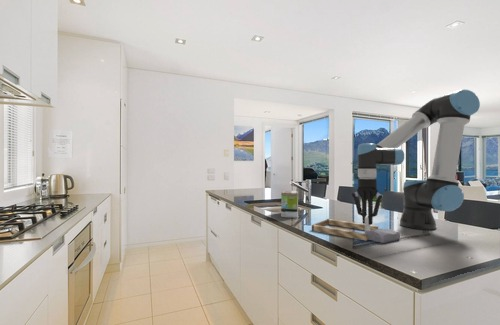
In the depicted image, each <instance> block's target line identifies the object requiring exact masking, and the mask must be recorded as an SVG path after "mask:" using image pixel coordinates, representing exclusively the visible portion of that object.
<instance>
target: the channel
mask: <svg viewBox="0 0 500 325" xmlns="http://www.w3.org/2000/svg"><path fill="white" fill-rule="evenodd" d="M328 225H329V226H337V227H341V228H347V229H348V228H349V229H355V230H360V231H365V224H363V223H360V222H350V221H346V220H345V221H344V220H338V219H332V218H327V219H324V220H322V221H319V222H316V223H314V224H311V231H313V232H319V233H324V234H329V235H334V236H340V237H343V238H344V237H345V238H351V239H356V240H359V241H360V240H361V241H368V239H367V234H366V233H365V232H359V231H353V230H349V229H348V230H347V229H341V228H334V227H329V226H328ZM375 229H379V226H378V225H374V224H372V225H370V230H375Z"/></svg>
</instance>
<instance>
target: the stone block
mask: <svg viewBox="0 0 500 325" xmlns="http://www.w3.org/2000/svg"><path fill="white" fill-rule="evenodd" d="M364 233H366V234H367V240H368V241H373V242H375V243H376V242H377V243H381V244H386V243H391V242H394V241H395V242H396V241H399V239H401V233H400V232H399V231H396V230H393V229H391V228H378V229H375V230H370V231H365V230H364Z"/></svg>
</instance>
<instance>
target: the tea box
mask: <svg viewBox="0 0 500 325" xmlns="http://www.w3.org/2000/svg"><path fill="white" fill-rule="evenodd" d="M280 196H281V197H280V198H281V199H280V200H281V202H280V204H281V205H280V207H281V208H280V210H281V212H280V217H281V218H294V219H295V218H298V216H299V215H298V214H299V191H298V190H282V192H281V195H280Z"/></svg>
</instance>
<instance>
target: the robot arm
mask: <svg viewBox="0 0 500 325" xmlns="http://www.w3.org/2000/svg"><path fill="white" fill-rule="evenodd" d="M480 105H481V102H480V99H479V97H478V96H477V95H476V93H475V92H473V91H472V90H469V89H459V90H455V91H452V92H449V93H447V94H443V95H440V96H438V97H435V98H433V99H432V100H429V101H428V102H426V103H425V104H424V105H422V106H421V107H420V108H419V109H417V110H416V111H414V113H412V115H411V118H409V119H407V121H405V122H404V123H403V124H401V125H400V126H399V127H397V128H396V129H395V130H393V131H392V132H391V133H390V134H388V135H387V136H386V137H385V138H384V139H382V140H380V141H379V142H378V143H377V144H376V143H372V142H370V143H360V144H358V145H357V154H356V155H357V177H358V179H357V189H356V191H355V192H353V193H351V195H352V197H353V199H354V204H355V207H356V211H357V214H358V215H360V216H362V220H361V221H362V224H365V230H364V232H365V231H370V225H373V223H374V222H373V219H374V218H375V217H376V216H378V213H379V210H380V205H381V201H382V199H383V198H384V197H385V196H384V194H381V193H380V192H379V191H378V189H377V185H378V184H377V182H378V181H377V177H378V176H377V175H378V174H377V166H389V165H392V166H396V165H397V166H398V165H401V164H403V162H404V161H405V151H404V150H403V149H402V148H400V147H401V146H402V145H404V144H405V143H406V142H407V141H408V140H410V139H411V138H413V137H414V136H415V135H416V134H418V133H419V132H421V130H423V129H427V128H429V127H431V125H433V124H436V123H438V124H439V131H438V135H437V142H436V146H435V147H436V148H435V152H434V159H433V164H432V165H433V166H432V170H431V175H430V176H428V177H426V179H414V180H413V179H412V180H405V181H404V182H403V187H402V189H403V211H402V214H401V216H400V218H399V224H400V226H403V227H405V228H411V229H415V230H426V231H427V230H429V231H430V230H435V229H436V228H437V223H436V220H435V218H434V215H433V211H432V210H436V211H439V212H453V211H455V210H457V209H459V208H460V207H461V206H462V204H463V202H464V201H465V200H464V199H465V194H464V192H463V190H462V189H461V187H459V184H460V182H459V181H458V180H457V179H456V177H457V170H458V163H459V158H460V153H461V147H462V146H461V145H462V142H463V134H464V128H465V126H466V125H467V124H469V123H470V122H471V121H470V120H471V116H472V115H475V114H476V113H477V112H479V110H480ZM359 197H360V198H361V200H360V198H359ZM375 197H376V201H375V203H374V202H373V201H374V198H375ZM373 203H374V204H375V205H374V204H373ZM373 205H374V206H373Z"/></svg>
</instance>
